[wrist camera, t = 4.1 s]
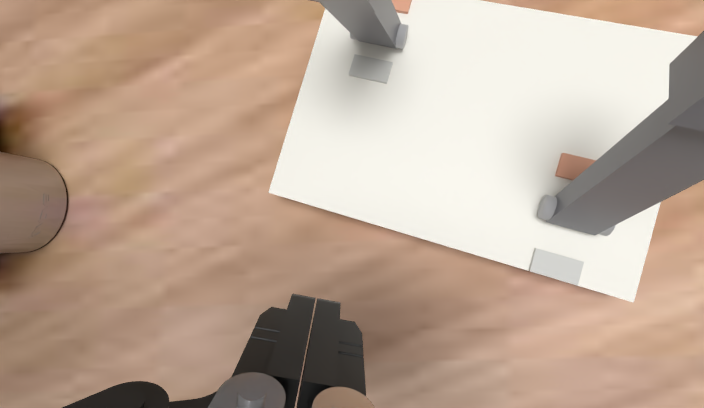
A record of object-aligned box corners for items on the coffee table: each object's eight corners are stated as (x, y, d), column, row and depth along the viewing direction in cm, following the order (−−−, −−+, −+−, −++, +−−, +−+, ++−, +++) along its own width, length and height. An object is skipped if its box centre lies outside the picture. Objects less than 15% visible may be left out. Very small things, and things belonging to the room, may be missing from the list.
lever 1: (349, 48, 27) (263, -22, 14) (357, 9, 27) (274, -102, 13) (404, 59, 26) (365, -4, 13) (414, 20, 26) (383, -89, 13)
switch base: (282, 196, 30) (266, 192, 27) (342, 1, 31) (334, -27, 27) (607, 294, 25) (636, 303, 22) (671, 60, 26) (708, 35, 23)
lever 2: (531, 228, 23) (719, 84, 10) (537, 192, 24) (716, 18, 11) (603, 248, 22) (901, 118, 10) (606, 209, 23) (882, 43, 10)
